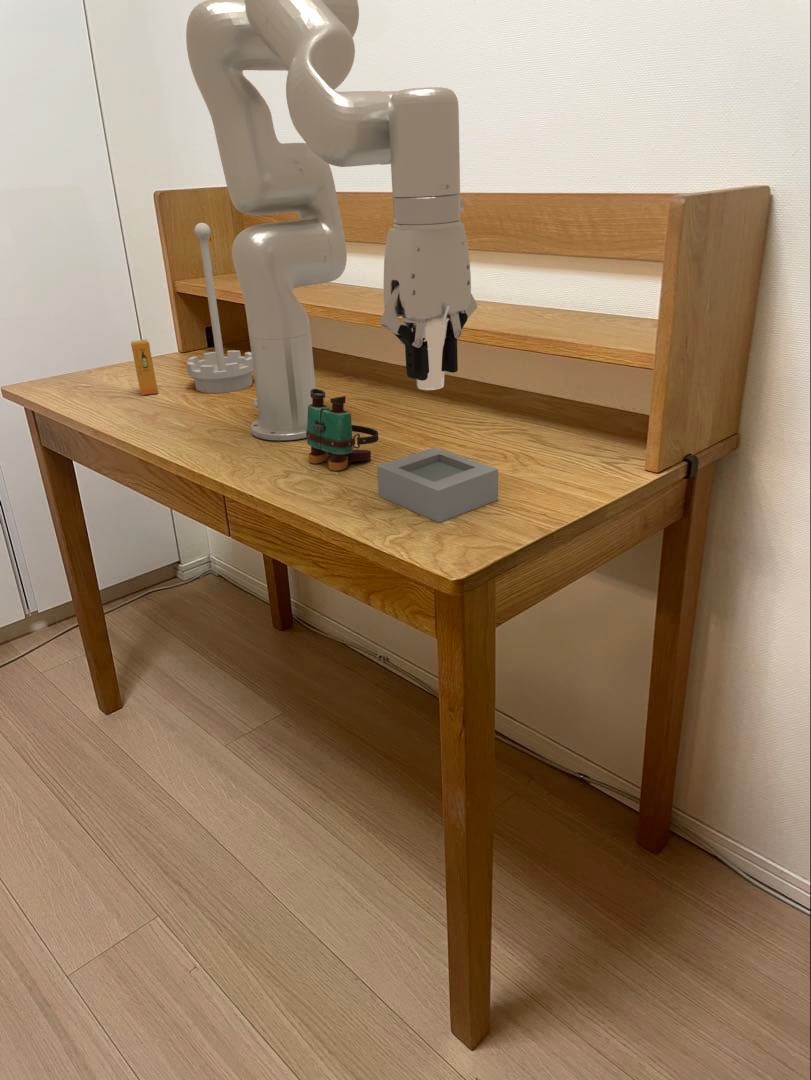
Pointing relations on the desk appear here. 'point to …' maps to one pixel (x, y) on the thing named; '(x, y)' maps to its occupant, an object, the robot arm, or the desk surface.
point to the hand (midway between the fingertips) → (432, 372)
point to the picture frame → (438, 483)
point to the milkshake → (434, 351)
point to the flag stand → (217, 342)
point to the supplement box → (144, 367)
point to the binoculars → (334, 433)
